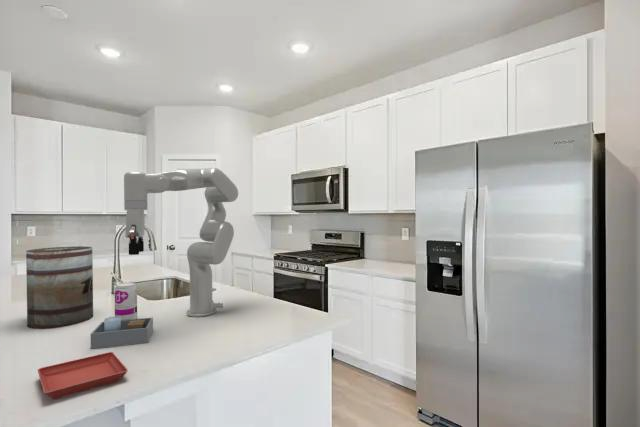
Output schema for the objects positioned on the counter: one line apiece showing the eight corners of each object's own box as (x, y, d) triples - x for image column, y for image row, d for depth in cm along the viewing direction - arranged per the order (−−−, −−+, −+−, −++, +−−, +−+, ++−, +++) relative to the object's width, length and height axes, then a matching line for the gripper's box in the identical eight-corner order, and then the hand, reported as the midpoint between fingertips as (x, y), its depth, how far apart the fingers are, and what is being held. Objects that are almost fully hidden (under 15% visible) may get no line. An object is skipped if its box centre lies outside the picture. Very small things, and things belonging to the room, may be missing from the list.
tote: (153, 330, 136) (152, 317, 136) (147, 342, 123) (147, 328, 123) (101, 335, 131) (101, 322, 131) (90, 348, 118) (90, 333, 118)
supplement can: (127, 323, 145) (127, 286, 145) (110, 322, 146) (109, 286, 146) (141, 317, 153) (141, 282, 153) (124, 316, 154) (124, 282, 154)
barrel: (105, 314, 158) (104, 246, 158) (57, 331, 136) (56, 252, 136) (65, 311, 164) (64, 246, 164) (12, 326, 142) (11, 251, 142)
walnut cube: (130, 334, 130) (130, 320, 130) (145, 333, 131) (145, 319, 131) (127, 339, 125) (127, 325, 125) (142, 337, 127) (142, 323, 127)
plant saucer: (112, 361, 109) (112, 350, 109) (129, 381, 96) (128, 369, 96) (37, 380, 97) (37, 368, 97) (44, 407, 84) (44, 393, 84)
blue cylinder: (118, 334, 129) (119, 315, 129) (121, 339, 126) (122, 319, 125) (102, 337, 126) (103, 318, 126) (105, 342, 122) (105, 322, 122)
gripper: (129, 206, 137) (129, 251, 137) (119, 205, 120) (119, 256, 121) (150, 206, 139) (151, 250, 139) (143, 205, 123) (144, 255, 123)
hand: (136, 253), depth 130 cm, fingers open, 9 cm apart
